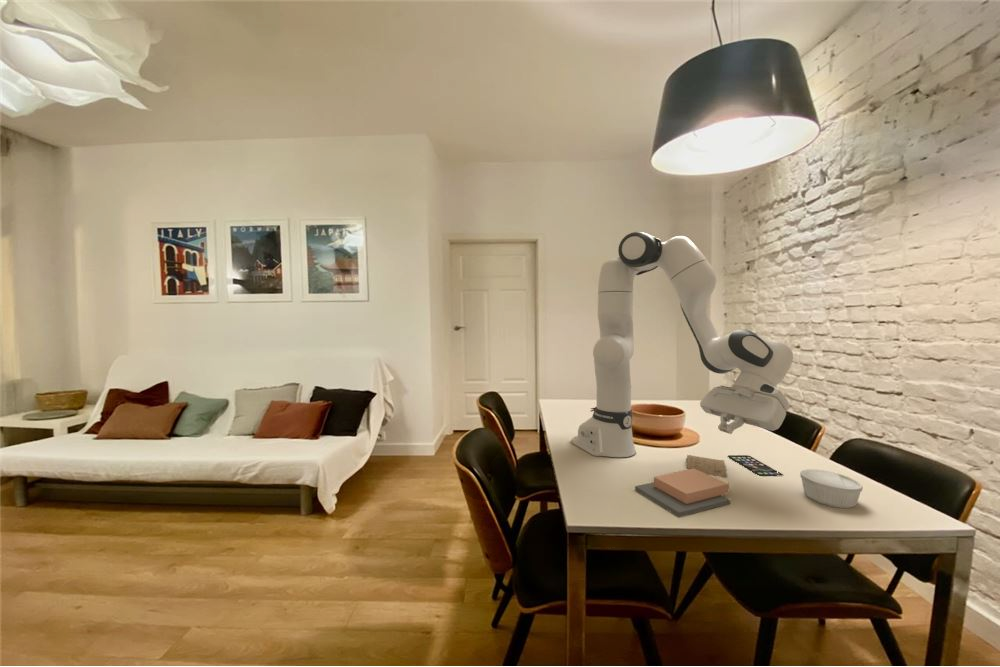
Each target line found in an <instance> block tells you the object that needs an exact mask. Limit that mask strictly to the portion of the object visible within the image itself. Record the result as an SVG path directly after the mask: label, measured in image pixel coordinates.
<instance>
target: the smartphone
mask: <svg viewBox="0 0 1000 667" xmlns="http://www.w3.org/2000/svg"><path fill="white" fill-rule="evenodd" d="M728 457H729V460H731V459H732V460H731V461H733V462H734V463H736V462H737V464H738V463H739V464H738V465H739V466H741V465H742V467H743V466H744V467H743V468H745V469H746V468H747V470H748V471H750V472H751V471H752V472H751V473H753V474H754V475H756V474H757V475H756V476H758V475H759V476H760V477H778V476H777V475H783V476H784V474H783V473H781V472H780V471H778V470H777V469H774V468H773V467H771V466H769V465H767V464H765V463H764V462H762V461H761V460H759V459H756V458H755V457H752V456H751V455H748V454H747V455H746V454H745V455H742V454H739V455H731V454H729V455H727V458H728ZM777 471H778V473H777ZM759 476H758V477H759Z"/></svg>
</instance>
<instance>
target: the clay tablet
mask: <svg viewBox="0 0 1000 667" xmlns="http://www.w3.org/2000/svg"><path fill="white" fill-rule="evenodd" d="M686 458H687V459H686V460H687V462H686V463H687V470H689V469H696V470H698V471H701V472H703V473H705V474H708V475H710V476H712V475H713V476H712V477H718V478H724V479H727V478H728V473H727V467H726V465H725V460H724V459H717V458H716V459H715V458H708V457H703V456H697V455H691V454H687V456H686Z"/></svg>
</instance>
